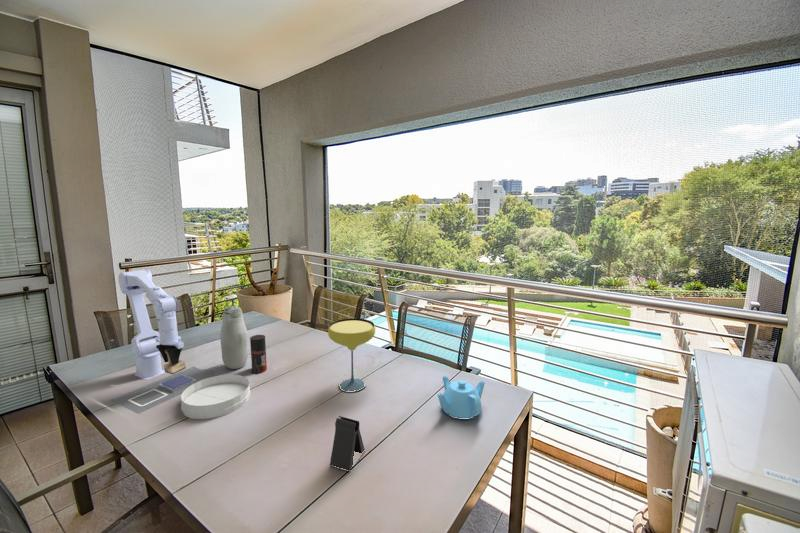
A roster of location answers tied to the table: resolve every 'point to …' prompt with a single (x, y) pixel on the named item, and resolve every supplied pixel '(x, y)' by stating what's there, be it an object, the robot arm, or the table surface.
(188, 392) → the dish
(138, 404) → the desk mat
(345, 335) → the cocktail glass
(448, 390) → the teapot
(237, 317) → the glass bottle
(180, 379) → the ink pad
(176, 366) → the stamp
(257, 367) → the deodorant
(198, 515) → the table surface
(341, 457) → the phone stand
